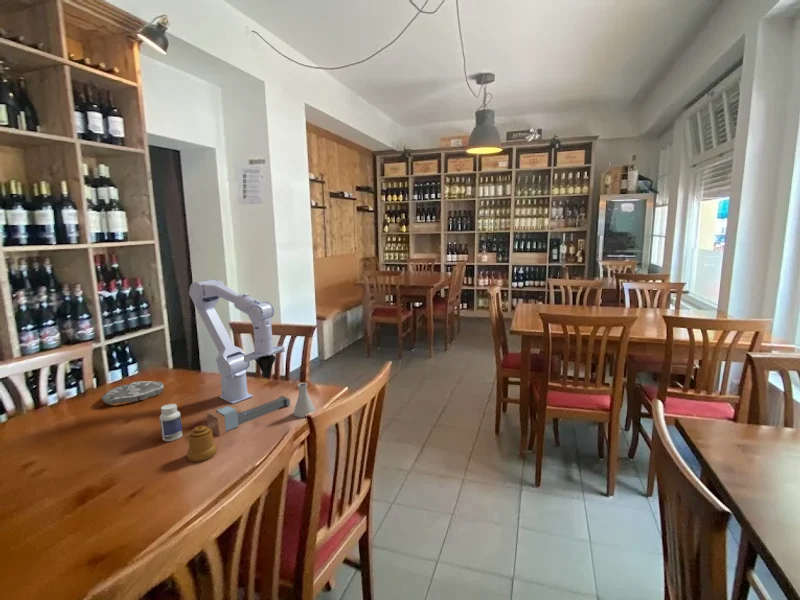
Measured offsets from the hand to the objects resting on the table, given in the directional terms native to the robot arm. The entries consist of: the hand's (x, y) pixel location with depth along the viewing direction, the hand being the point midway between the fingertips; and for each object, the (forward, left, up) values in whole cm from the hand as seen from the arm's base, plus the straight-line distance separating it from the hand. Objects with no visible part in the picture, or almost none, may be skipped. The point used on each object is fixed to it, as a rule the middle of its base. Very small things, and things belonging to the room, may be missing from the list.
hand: (266, 376), depth 144 cm
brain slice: (-47, -27, -10) cm, 55 cm away
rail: (+5, -9, -10) cm, 14 cm away
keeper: (+5, -18, -10) cm, 21 cm away
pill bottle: (-2, -31, -10) cm, 33 cm away
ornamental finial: (+15, -30, -10) cm, 35 cm away
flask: (+16, +3, -10) cm, 19 cm away
